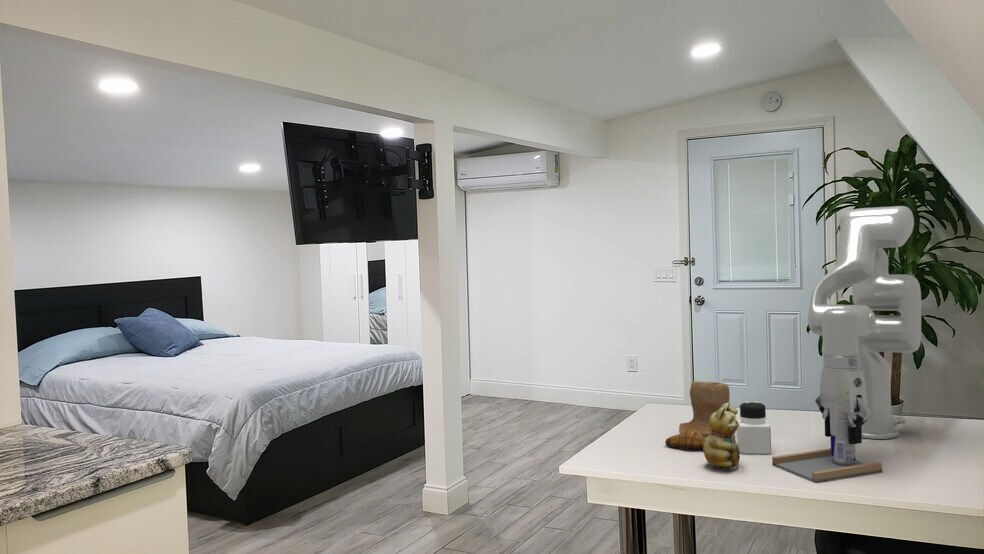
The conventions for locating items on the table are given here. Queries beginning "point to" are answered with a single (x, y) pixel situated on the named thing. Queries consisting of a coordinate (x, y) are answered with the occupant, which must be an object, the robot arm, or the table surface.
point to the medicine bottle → (753, 429)
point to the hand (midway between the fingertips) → (843, 439)
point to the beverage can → (840, 437)
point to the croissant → (687, 440)
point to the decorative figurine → (722, 439)
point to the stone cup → (705, 405)
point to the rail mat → (822, 466)
